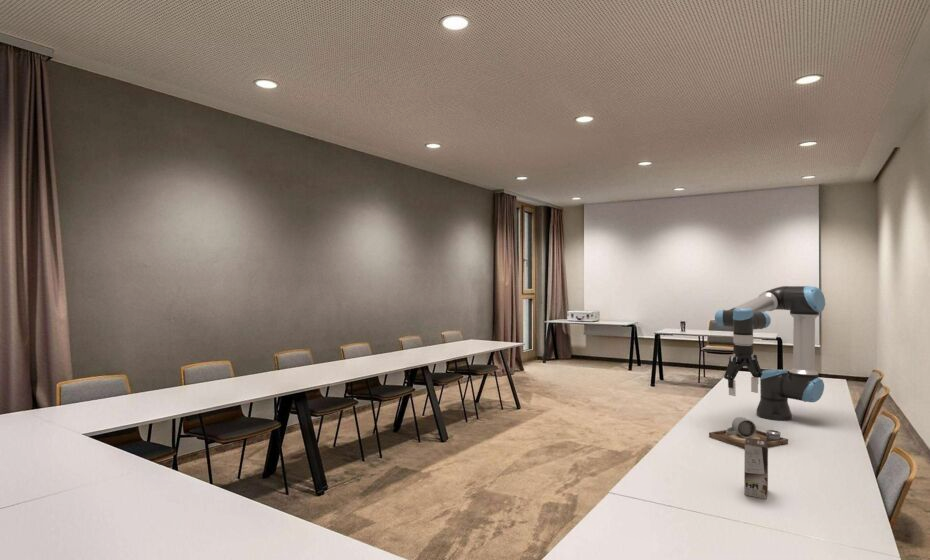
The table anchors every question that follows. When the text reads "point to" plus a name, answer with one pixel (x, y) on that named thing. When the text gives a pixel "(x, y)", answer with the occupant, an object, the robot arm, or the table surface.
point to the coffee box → (756, 468)
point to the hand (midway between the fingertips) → (743, 393)
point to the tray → (740, 441)
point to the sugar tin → (772, 435)
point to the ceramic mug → (742, 428)
